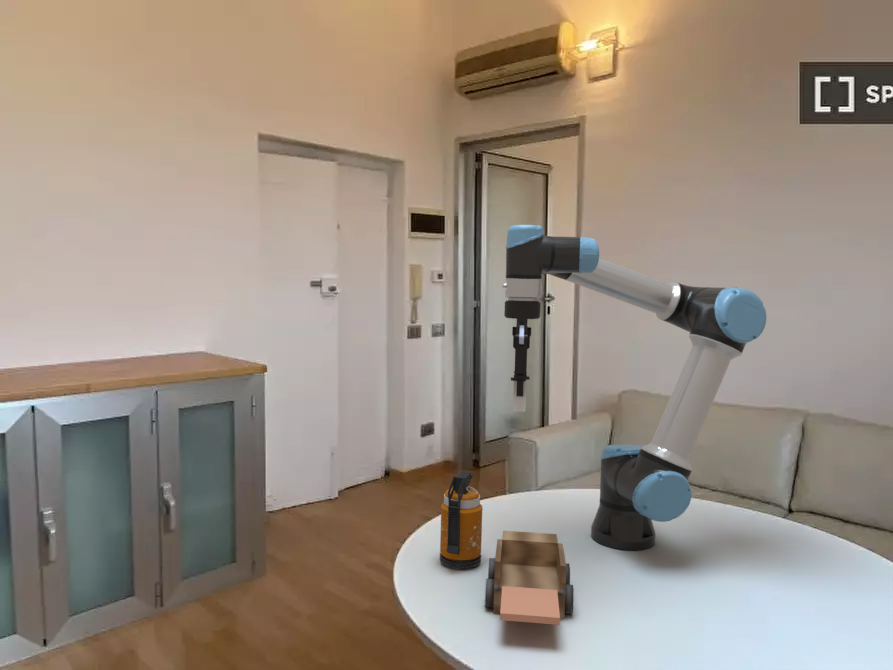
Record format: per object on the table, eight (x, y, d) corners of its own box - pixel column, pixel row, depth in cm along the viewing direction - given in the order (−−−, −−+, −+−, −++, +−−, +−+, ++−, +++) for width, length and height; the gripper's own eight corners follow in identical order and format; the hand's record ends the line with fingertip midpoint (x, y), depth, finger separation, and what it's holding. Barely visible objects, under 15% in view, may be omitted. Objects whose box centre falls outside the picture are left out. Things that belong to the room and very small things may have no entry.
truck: (567, 582, 139) (569, 534, 139) (573, 621, 123) (575, 568, 122) (489, 576, 141) (490, 529, 140) (484, 614, 125) (486, 561, 124)
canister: (485, 558, 151) (488, 470, 149) (471, 578, 140) (473, 483, 139) (447, 552, 154) (449, 465, 152) (430, 571, 143) (432, 478, 142)
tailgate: (557, 590, 123) (560, 617, 113) (556, 598, 123) (559, 627, 113) (502, 585, 124) (500, 613, 114) (502, 594, 124) (499, 622, 114)
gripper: (505, 298, 148) (502, 404, 150) (503, 299, 135) (500, 415, 137) (540, 299, 147) (536, 406, 149) (541, 300, 134) (537, 417, 136)
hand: (519, 410), depth 143 cm, fingers closed
